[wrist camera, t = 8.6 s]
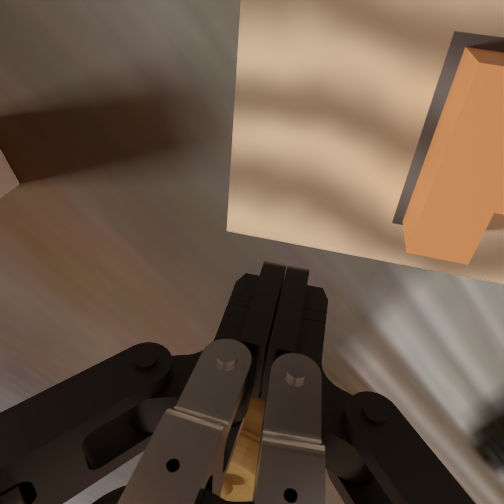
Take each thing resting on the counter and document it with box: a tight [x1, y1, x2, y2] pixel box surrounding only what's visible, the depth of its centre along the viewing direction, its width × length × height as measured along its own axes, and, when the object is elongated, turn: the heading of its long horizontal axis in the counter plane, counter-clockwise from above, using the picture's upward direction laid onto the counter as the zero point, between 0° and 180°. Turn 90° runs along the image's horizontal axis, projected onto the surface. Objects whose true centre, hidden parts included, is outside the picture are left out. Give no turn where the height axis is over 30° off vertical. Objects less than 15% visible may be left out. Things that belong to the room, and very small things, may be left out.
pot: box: [220, 397, 266, 502], centre depth 48 cm, size 12×12×10 cm
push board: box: [227, 0, 504, 284], centre depth 29 cm, size 20×26×1 cm
